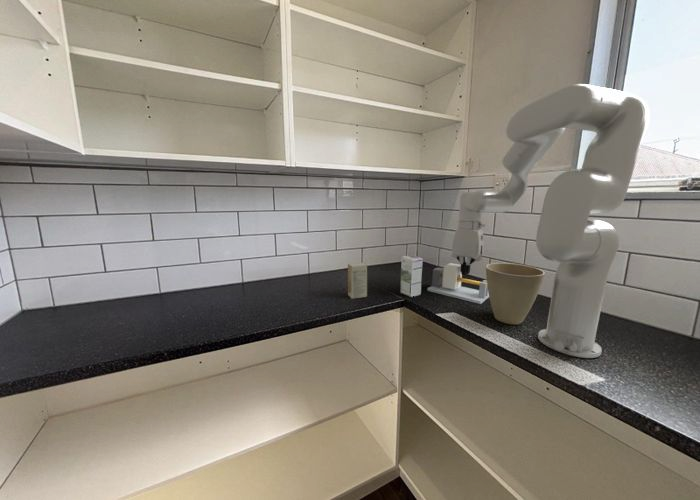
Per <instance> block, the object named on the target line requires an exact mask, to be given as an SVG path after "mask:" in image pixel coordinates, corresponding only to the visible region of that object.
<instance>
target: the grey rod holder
mask: <svg viewBox="0 0 700 500" xmlns="http://www.w3.org/2000/svg"><path fill="white" fill-rule="evenodd" d="M443 271H444V267H435V268H434V269H432V277H431V278H432V279H431V280H432V281H431V286H429V287H427V289H426V290H427V292H431V293H435V294H439V295H443V296H446V297H451V298H454V299H459V300H463V301H466V302H470V303H474V304H478V305H482V304H483V303H484V302H485V301H486V300H488V299H489V293H488V287H487V279H483V280H482V281H479V280H478V281H477V280H473V279H468V278H463V277H462V278H459V277H457V281H461V283H465V284H470V285H476V286H479V288H478V289H475V288H471V287H467V286H462V285H461V286H460V287H459V288H457V289H455V290H454V289H450V288H445V287H442V283H443Z"/></svg>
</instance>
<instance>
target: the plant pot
mask: <svg viewBox="0 0 700 500" xmlns="http://www.w3.org/2000/svg"><path fill="white" fill-rule="evenodd" d="M485 272H486V275H485V276H486V277H485V278H486V281H487V287H488V293H489V297H488V299H489V303H490V306H491V308H492V309H491V310H492V313H493V317H494V318H495V319H496V320H497V321H499V322H501V323H504V324H507V325H508V324H509V325H520V324H522V323H523V322H524V321H525V319H526V317H527V315H528V314H529V313H530V311H531V309H532V307H533V305H534V303H535V301H536V298H537V297H538V294H539V292H540V289H541V286H542V284H543V280H544V278H545V274H546V272H545V271H544V270H543V269H540V268H537V267H535V266H530V265H525V264H519V263H518V264H517V263H509V262H508V263H507V262H496V263H495V262H493V263H488V264H486V266H485Z"/></svg>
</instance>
